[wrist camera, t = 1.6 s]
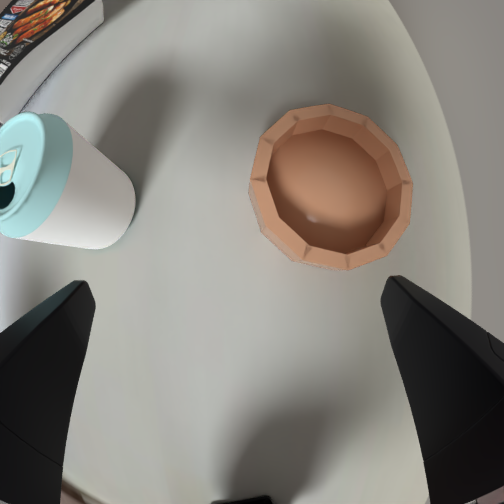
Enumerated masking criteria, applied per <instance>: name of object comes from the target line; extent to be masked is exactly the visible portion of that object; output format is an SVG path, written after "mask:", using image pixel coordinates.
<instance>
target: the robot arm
mask: <svg viewBox="0 0 504 504" xmlns="http://www.w3.org/2000/svg"><path fill="white" fill-rule="evenodd" d="M381 307H382V311H383V314H384V318H385V322H386V326H387V330H388V334H389V339H390V342H391V346H392V349H393V352H394V355H395V358H396V361H397V364H398V367H399V371H400V374H401V377H402V380H403V383H404V387H405V390H406V393H407V397H408V400H409V404H410V407H411V411H412V415H413V419H414V422H415V426H416V430H417V435H418V439H419V443H420V448H421V452H422V457H423V461H424V468H425V473H426V478H427V484H428V490H429V497H430V504H465V503H468V502H470V501H473V500H475V501H474V502H472V503H471V504H504V343H503V342H501V341H500V340H498V339H497V338H495V337H494V336H493V335H491V334H490V333H489V332H486V330H484V329H483V328H481V327H480V326H478V325H477V324H476V323H474V322H473V321H471V320H470V319H468V318H467V317H465V316H464V315H462V314H461V313H459V312H458V311H456V310H455V309H453V308H452V307H450V306H449V305H447V304H446V303H444V302H443V301H441V300H440V299H438V298H436V297H435V296H433V295H432V294H430V293H429V292H427V291H425V290H424V289H422V288H421V287H419V286H417V285H416V284H414V283H413V282H411V281H409V280H408V279H406V278H405V277H403V276H400V275H398V276H390V277H388V279H387V281H386V284H385V287H384V290H383V293H382V296H381ZM95 308H96V305H95V300H94V298H93V295H92V292H91V290H90V287H89V285H88V283H87V282H86V281H84V280H75V281H73V282H71V283H70V284H68V285H67V286H65V287H64V288H62V289H61V290H59V291H58V292H56V293H55V294H53V295H52V296H50V297H49V298H47V299H46V300H45V301H43V302H42V303H40V304H39V305H38V306H36V307H35V308H33V309H32V310H31V311H29V312H28V313H26V314H25V315H24V316H22V317H21V318H20V319H18V320H17V321H16V322H14V323H13V324H12V325H10V326H9V327H8V328H6V329H5V330H4V331H2V332H1V333H0V504H60V497H61V483H62V472H63V467H62V466H63V462H64V454H65V447H66V440H67V434H68V428H69V423H70V417H71V412H72V408H73V403H74V398H75V394H76V390H77V385H78V381H79V377H80V373H81V370H82V366H83V362H84V359H85V355H86V351H87V347H88V342H89V336H90V331H91V327H92V322H93V317H94V313H95ZM224 504H274V503H273V501H272V499H271V497H269V496H263V497H258V498H253V499H248V500H243V501H237V502H231V503H224Z"/></svg>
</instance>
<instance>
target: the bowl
mask: <svg viewBox="0 0 504 504" xmlns="http://www.w3.org/2000/svg"><path fill="white" fill-rule="evenodd" d="M412 188H413V183H412V180H411V177H410V175H409V172H408V169H407V167H406V164H405V162H404V160H403V157H402V155H401V152H400V150H399V148H398V145H397V144H396V143H395V142H394V141H393V140H392V139H391V138H390V137H389V136H388V135H387V134H386V133H385V132H384V131H382V130H381V129H380V128H379V127H378V126H377V125H376V124H375V123H374V122H373V121H372V120H371V119H370V118H368V117H367V116H364V115H362V114H359V113H356V112H353V111H350V110H347V109H344V108H341V107H338V106H335V105H332V104H323V105H316V106H310V107H304V108H299V109H293V110H289V111H288V112H287V113H286V114H285V115H284V116H283V117H282V118H280V119H279V120H278V121H277V122H276V123H275V124H274V125H273V126H272V127H270V128H269V129H268V130H267V131H266V132H265V133H264V134H263V135H262V136H261V137H260V140H259V144H258V148H257V152H256V156H255V160H254V165H253V169H252V173H251V177H250V183H249V192H248V193H249V196H250V200H251V203H252V206H253V209H254V212H255V215H256V218H257V221H258V224H259V227H260V230H261V233H262V234H263V235H264V236H266V237H267V238H268V239H269V240H270V241H271V242H272V243H273V244H274V245H275V246H276V247H278V248H279V249H280V250H281V251H282V252H283V253H284V254H285V255H286V256H287V257H288V258H289V259H291V260H292V261H293V262H298V263H302V264H307V265H311V266H316V267H320V268H325V269H329V270H351V269H353V268H356V267H359V266H361V265H364V264H367V263H369V262H372V261H374V260H377V259H380V258H382V257H385V256H387V255H388V254H389V252H390V251H391V249H392V248H393V247H394V245H395V244H396V242H397V241H398V240H399V238H400V237H401V235H402V234H403V232H404V231H405V229H406V228H407V226H408V225H409V223H410V215H411V203H412Z"/></svg>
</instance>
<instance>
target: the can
mask: <svg viewBox="0 0 504 504" xmlns="http://www.w3.org/2000/svg"><path fill="white" fill-rule="evenodd" d="M134 210H135V191H134V187H133V185H132V182H131V180H130V179H129V177H128V176H127V175H126V174H125V173H124V172H123V171H122V170H121V169H120V168H119V167H117V166H116V165H115V164H114V163H113V162H112V161H110V160H109V159H108V158H107V157H106V156H105V155H103V154H102V153H101V152H100V151H99V150H98V149H96V148H95V147H94V146H93V145H92V144H91V143H89V142H88V141H87V140H86V139H85V138H84V137H83V136H81V135H80V134H79V133H78V132H77V131H76V130H75V129H73V128H72V127H71V126H70V125H69V124H68V123H67V122H65V121H64V120H63V119H62V118H61V117H59V116H57V115H54V114H39V115H38V114H36V113H34V112H23V113H20V114H18V115H16V116H14V117H12V118H11V119H9V120H8V121H7V122H6V123H5V124H4V125H3V126H2V127H1V128H0V232H1V233H2V234H4V235H5V236H8V237H11V238H17V239H24V240H30V241H37V242H44V243H51V244H58V245H65V246H72V247H79V248H86V249H102V248H105V247H107V246H110V245H111V244H113V243H114V242H116V241H117V240H118V239H119V238H120V237H121V236H122V235H123V234H124V233H125V231H126V230H127V228H128V226H129V224H130V222H131V220H132V217H133V214H134Z"/></svg>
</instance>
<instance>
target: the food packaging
mask: <svg viewBox="0 0 504 504" xmlns="http://www.w3.org/2000/svg"><path fill="white" fill-rule="evenodd" d="M103 21H104V14H103V3H102V0H12V1H11V2H10V4H9V5H8V6H7V7H6V8H5V9H4V10H3V12H2V13H1V14H0V123H2V124H5V123H6V122H7V121H8V120H9V119H11V118H12V117H14V116H16V115H18V114H19V112H20V111H21V110H22V108H23V107H24V105H25V104H26V103H27V101H28V100H29V99H30V97H31V96H32V95H33V94H34V92H35V91H36V90H37V89H38V87H39V86H40V85H41V84H42V83H43V81H44V80H45V79H46V78H47V77H48V76H49V74H50V73H51V72H52V71H53V70H54V69H55V68H56V67H57V66H58V64H59V63H60V62H61V61H62V60H63V59H64V58H65V57H66V56H67V55H68V54H69V53H70V52H71V51H72V50H73V49H74V48H75V47H76V46H77V45H78V44H79V43H80V42H81V41H82V40H83V39H85V38H86V37H87V36H88V35H89V34H90V33H91V32H92V31H93V30H95V29H96V28H97V27H98V26H99V25H100V24H102V23H103Z"/></svg>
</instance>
